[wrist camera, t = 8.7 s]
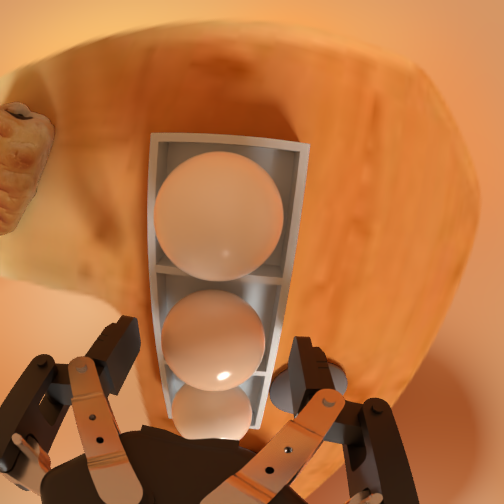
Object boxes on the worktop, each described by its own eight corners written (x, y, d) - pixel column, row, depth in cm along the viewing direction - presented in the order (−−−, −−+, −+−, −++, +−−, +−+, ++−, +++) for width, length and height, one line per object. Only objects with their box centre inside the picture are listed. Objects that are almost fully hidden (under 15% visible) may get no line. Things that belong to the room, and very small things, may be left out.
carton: (259, 407, 20) (259, 429, 18) (174, 397, 20) (168, 418, 17) (301, 145, 13) (310, 144, 11) (166, 135, 13) (150, 132, 11)
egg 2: (249, 408, 19) (247, 464, 14) (182, 401, 19) (169, 454, 14) (256, 363, 17) (256, 427, 12) (177, 354, 17) (157, 414, 12)
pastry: (33, 244, 15) (0, 263, 12) (-10, 206, 14) (-41, 218, 11) (67, 121, 13) (26, 119, 9) (17, 98, 11) (-18, 95, 8)
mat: (333, 409, 20) (334, 412, 20) (264, 409, 20) (265, 413, 19) (356, 360, 18) (357, 364, 18) (276, 360, 18) (276, 363, 17)
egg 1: (271, 258, 14) (279, 313, 9) (173, 248, 14) (136, 296, 9) (284, 157, 13) (302, 159, 8) (177, 149, 12) (133, 149, 8)
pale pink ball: (269, 277, 15) (275, 336, 10) (258, 350, 16) (259, 416, 12) (174, 267, 15) (139, 319, 10) (177, 341, 16) (154, 402, 11)
